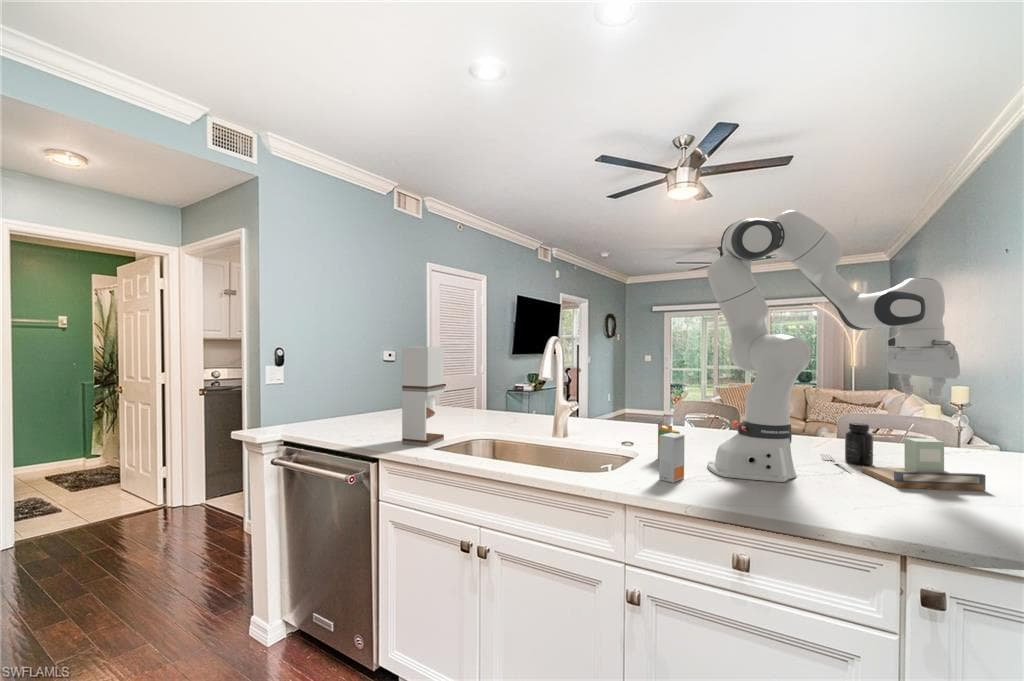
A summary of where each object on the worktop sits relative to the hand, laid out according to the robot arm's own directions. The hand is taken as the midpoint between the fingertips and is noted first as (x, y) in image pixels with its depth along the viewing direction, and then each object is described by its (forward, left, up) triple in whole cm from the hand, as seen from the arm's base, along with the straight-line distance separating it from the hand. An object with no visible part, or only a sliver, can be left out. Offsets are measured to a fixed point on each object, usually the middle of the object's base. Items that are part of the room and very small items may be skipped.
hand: (920, 393), depth 119 cm
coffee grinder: (-145, +31, -24) cm, 150 cm away
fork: (-12, +13, -24) cm, 30 cm away
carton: (0, -1, -22) cm, 22 cm away
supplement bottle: (-4, +19, -24) cm, 31 cm away
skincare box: (-64, -5, -24) cm, 68 cm away
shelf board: (+1, +2, -24) cm, 24 cm away
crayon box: (-61, +14, -24) cm, 67 cm away
